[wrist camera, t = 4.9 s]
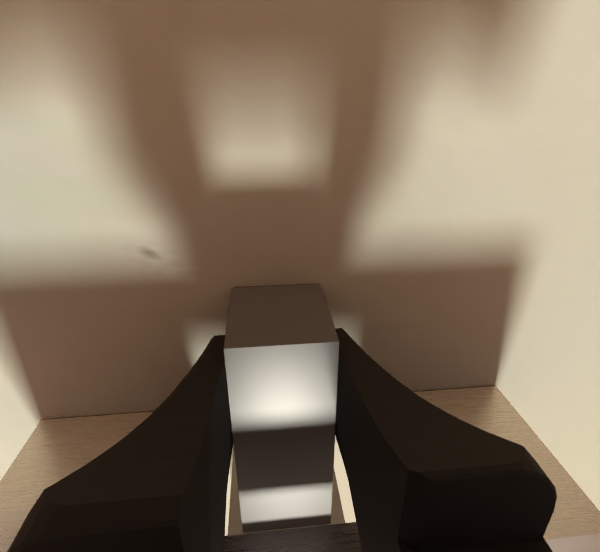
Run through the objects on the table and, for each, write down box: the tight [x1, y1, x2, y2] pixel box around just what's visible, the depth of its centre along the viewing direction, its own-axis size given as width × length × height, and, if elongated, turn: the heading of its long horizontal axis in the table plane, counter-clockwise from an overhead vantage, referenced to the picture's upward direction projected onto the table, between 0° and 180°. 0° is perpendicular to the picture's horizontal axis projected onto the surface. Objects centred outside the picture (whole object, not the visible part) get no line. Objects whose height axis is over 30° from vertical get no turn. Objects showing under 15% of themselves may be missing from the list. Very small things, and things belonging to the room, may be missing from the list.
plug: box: [224, 284, 345, 536], centre depth 14 cm, size 4×12×4 cm, turn 0°
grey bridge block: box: [0, 386, 600, 552], centre depth 13 cm, size 18×2×6 cm, turn 90°
